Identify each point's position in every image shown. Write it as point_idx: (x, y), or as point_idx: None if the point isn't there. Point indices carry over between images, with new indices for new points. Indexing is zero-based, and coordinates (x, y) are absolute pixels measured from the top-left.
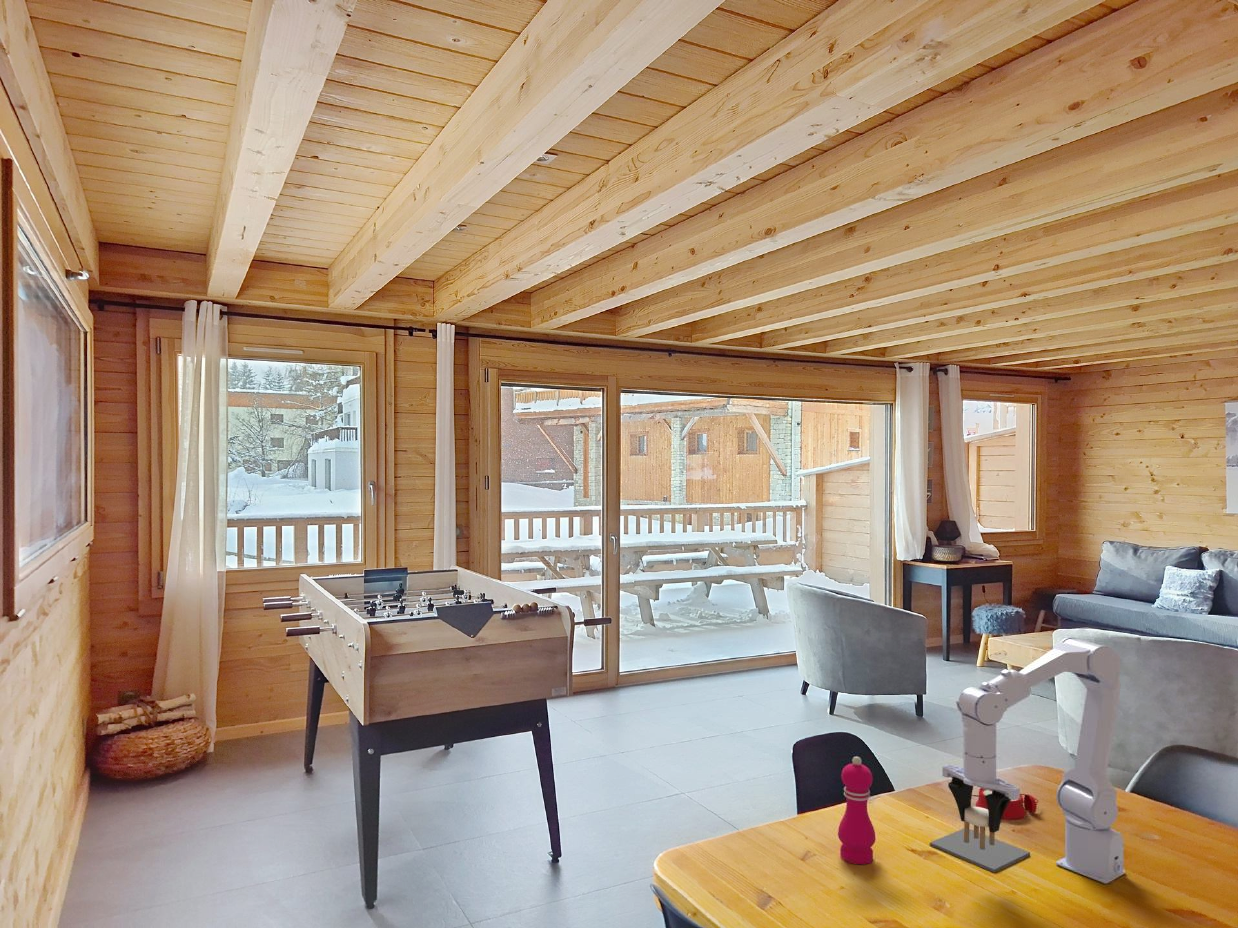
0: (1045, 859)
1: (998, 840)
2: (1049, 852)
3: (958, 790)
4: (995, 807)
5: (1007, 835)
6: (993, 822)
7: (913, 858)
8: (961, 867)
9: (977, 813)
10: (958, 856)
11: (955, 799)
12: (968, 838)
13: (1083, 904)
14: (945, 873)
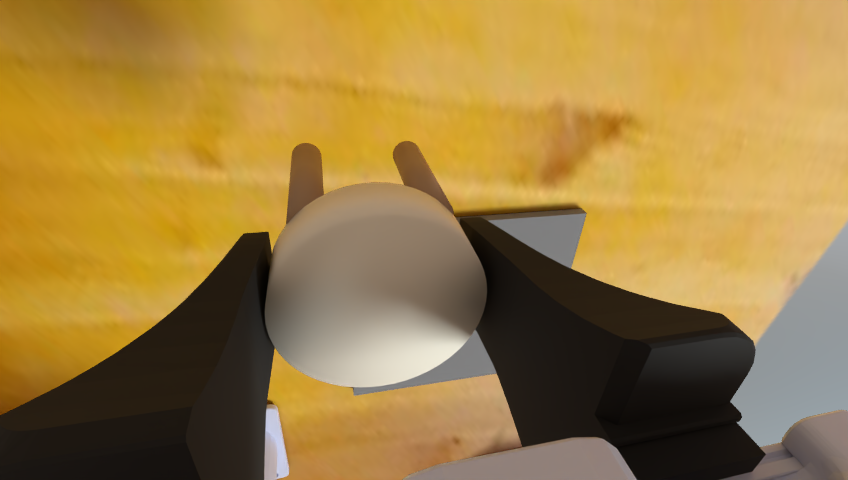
0: (313, 401)
1: (446, 378)
2: (333, 432)
3: (604, 327)
4: (97, 370)
5: (452, 415)
6: (213, 272)
7: (589, 69)
8: (436, 161)
9: (379, 284)
10: (480, 216)
11: (581, 275)
12: (397, 162)
13: (19, 286)
14: (450, 62)
